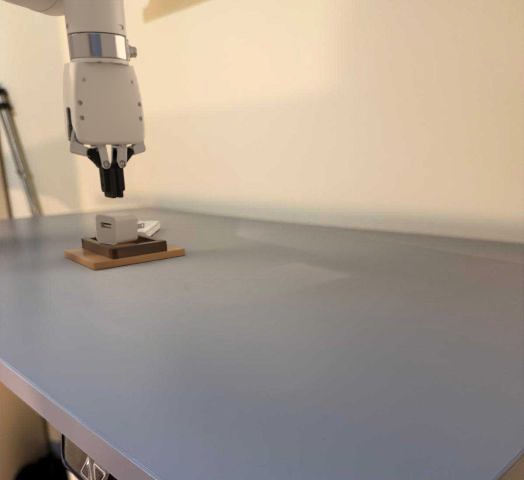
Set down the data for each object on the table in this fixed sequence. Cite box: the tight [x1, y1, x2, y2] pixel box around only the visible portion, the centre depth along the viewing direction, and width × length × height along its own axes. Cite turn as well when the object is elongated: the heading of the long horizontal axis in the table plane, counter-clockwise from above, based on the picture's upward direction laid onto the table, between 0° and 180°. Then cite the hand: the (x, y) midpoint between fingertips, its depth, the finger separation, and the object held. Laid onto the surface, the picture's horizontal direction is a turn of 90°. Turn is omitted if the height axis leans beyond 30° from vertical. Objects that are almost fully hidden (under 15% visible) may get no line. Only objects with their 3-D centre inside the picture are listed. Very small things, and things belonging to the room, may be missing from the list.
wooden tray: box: [63, 233, 186, 271], centre depth 80 cm, size 12×14×2 cm
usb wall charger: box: [94, 211, 145, 245], centre depth 79 cm, size 4×7×4 cm, turn 150°
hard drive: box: [137, 220, 161, 237], centre depth 98 cm, size 2×8×12 cm
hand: (114, 197), depth 78 cm, fingers closed
